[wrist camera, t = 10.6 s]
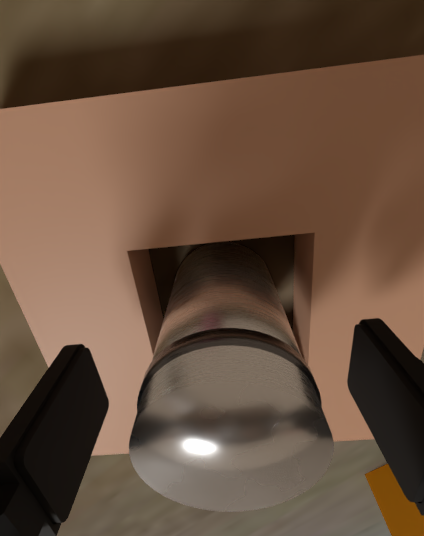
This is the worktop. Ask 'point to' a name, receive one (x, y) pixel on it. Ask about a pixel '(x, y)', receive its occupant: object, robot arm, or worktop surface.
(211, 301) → the piston
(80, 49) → the worktop surface
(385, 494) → the pipe clamp
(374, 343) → the robot arm
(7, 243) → the pink square holed slab
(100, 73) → the worktop surface
